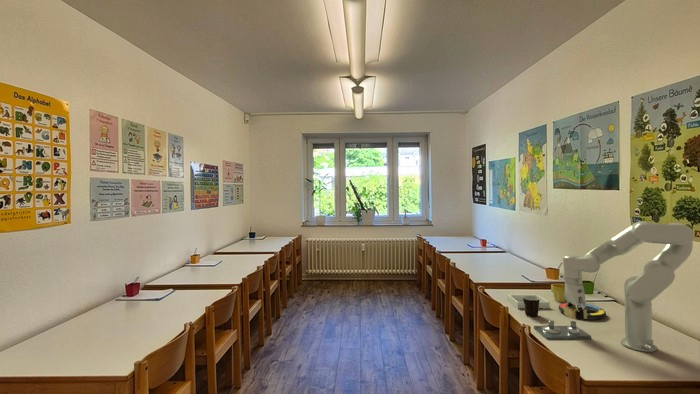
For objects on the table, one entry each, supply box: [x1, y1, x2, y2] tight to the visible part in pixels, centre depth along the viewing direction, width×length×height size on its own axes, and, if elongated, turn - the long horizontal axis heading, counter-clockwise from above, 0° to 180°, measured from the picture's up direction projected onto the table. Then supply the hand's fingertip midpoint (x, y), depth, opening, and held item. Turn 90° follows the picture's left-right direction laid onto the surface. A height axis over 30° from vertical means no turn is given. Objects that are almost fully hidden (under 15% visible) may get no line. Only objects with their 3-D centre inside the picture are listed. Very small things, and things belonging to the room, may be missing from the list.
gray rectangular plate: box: [533, 325, 592, 340], centre depth 178 cm, size 13×21×2 cm, turn 87°
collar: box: [563, 306, 588, 320], centre depth 175 cm, size 7×7×4 cm
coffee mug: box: [522, 296, 540, 318], centre depth 203 cm, size 12×9×10 cm
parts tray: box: [506, 293, 551, 310], centre depth 223 cm, size 16×19×4 cm
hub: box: [541, 319, 560, 333], centre depth 179 cm, size 8×8×6 cm
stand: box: [566, 320, 581, 334], centre depth 176 cm, size 5×5×6 cm
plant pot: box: [550, 283, 566, 303], centre depth 229 cm, size 10×10×10 cm
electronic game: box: [558, 302, 607, 321], centre depth 205 cm, size 23×23×5 cm
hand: (575, 316), depth 175 cm, fingers closed on collar, 7 cm apart
